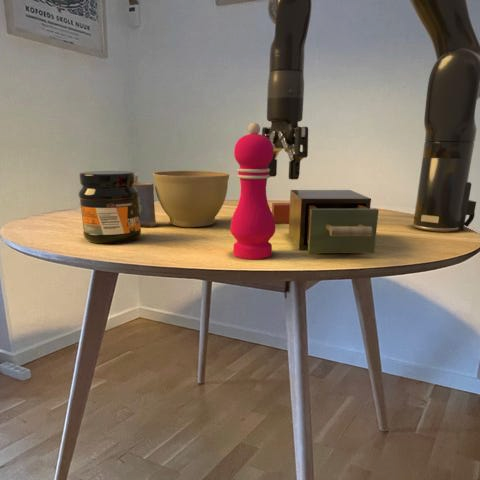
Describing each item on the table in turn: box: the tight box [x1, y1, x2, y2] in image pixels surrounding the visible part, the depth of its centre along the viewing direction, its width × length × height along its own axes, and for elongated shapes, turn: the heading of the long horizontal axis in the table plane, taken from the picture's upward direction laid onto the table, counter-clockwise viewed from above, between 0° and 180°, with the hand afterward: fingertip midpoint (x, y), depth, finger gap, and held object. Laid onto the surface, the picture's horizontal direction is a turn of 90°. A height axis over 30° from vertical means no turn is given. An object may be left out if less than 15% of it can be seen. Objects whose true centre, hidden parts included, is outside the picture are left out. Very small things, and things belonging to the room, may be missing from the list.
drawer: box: [304, 203, 380, 254], centre depth 76 cm, size 17×10×7 cm, turn 2°
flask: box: [134, 173, 157, 228], centre depth 100 cm, size 9×3×11 cm, turn 61°
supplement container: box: [78, 170, 142, 245], centre depth 86 cm, size 10×10×12 cm
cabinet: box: [288, 189, 372, 251], centre depth 85 cm, size 14×12×9 cm
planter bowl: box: [152, 170, 230, 228], centre depth 101 cm, size 16×16×11 cm
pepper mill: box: [229, 122, 276, 260], centre depth 73 cm, size 7×7×20 cm
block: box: [271, 202, 290, 224], centre depth 106 cm, size 4×4×4 cm
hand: (282, 177), depth 103 cm, fingers open, 8 cm apart
